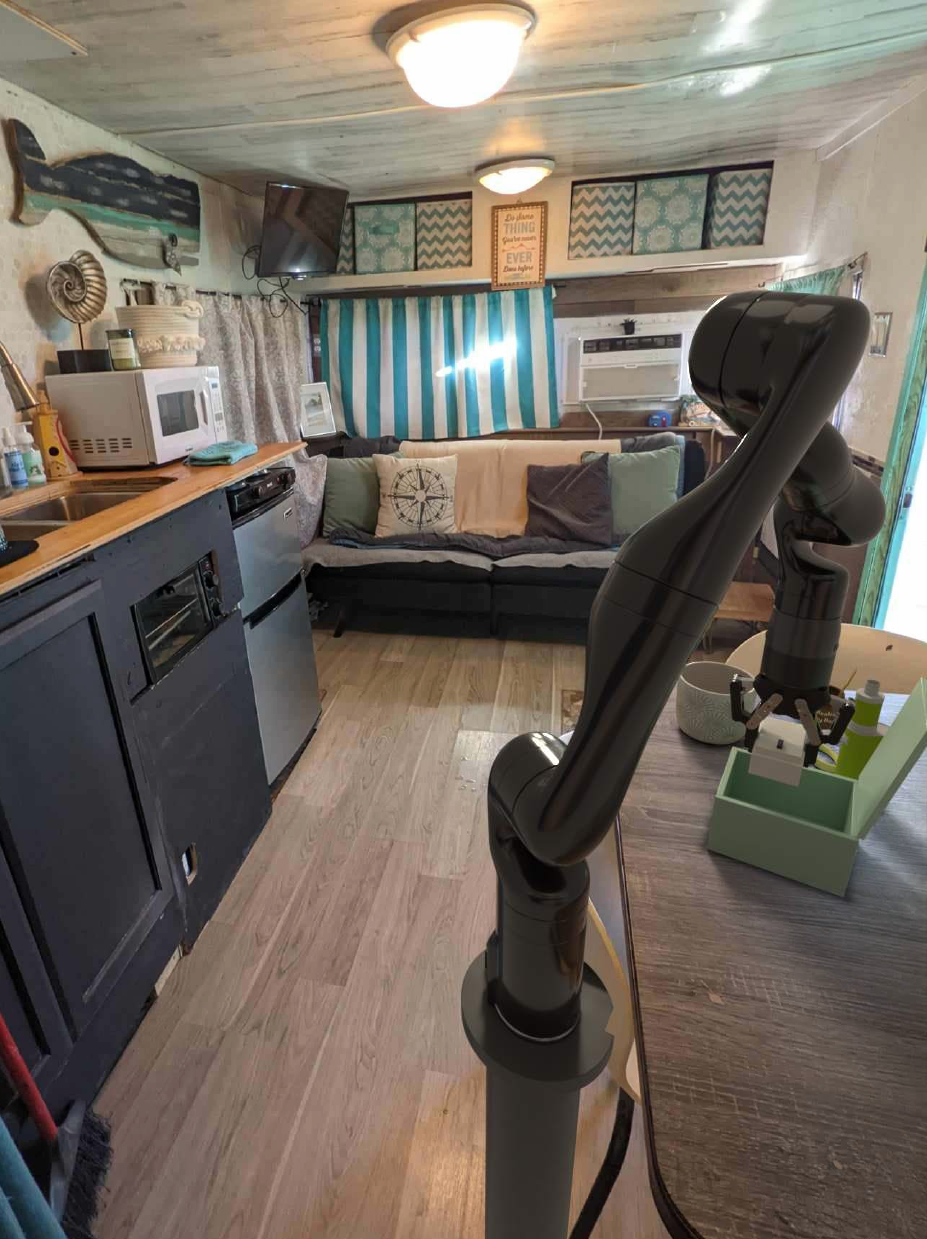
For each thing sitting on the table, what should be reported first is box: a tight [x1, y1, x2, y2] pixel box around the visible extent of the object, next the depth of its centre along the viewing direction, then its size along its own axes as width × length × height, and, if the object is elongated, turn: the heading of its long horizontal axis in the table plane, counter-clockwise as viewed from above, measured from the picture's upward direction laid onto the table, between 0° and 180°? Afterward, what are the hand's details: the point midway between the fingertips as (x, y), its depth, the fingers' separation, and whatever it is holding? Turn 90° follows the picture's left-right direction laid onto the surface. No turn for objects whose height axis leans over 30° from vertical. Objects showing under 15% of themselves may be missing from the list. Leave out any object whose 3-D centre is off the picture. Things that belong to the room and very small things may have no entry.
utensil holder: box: [816, 667, 858, 730], centre depth 112 cm, size 6×6×12 cm
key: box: [813, 744, 838, 773], centre depth 104 cm, size 7×12×2 cm, turn 99°
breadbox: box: [706, 746, 860, 898], centre depth 87 cm, size 16×14×9 cm
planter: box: [675, 660, 758, 745], centre depth 112 cm, size 12×12×11 cm
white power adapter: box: [748, 716, 808, 787], centre depth 84 cm, size 10×6×4 cm, turn 144°
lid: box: [856, 677, 927, 841], centre depth 76 cm, size 16×14×5 cm
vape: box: [833, 679, 891, 780], centre depth 92 cm, size 4×6×20 cm, turn 79°
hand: (777, 756), depth 85 cm, fingers closed on white power adapter, 5 cm apart
